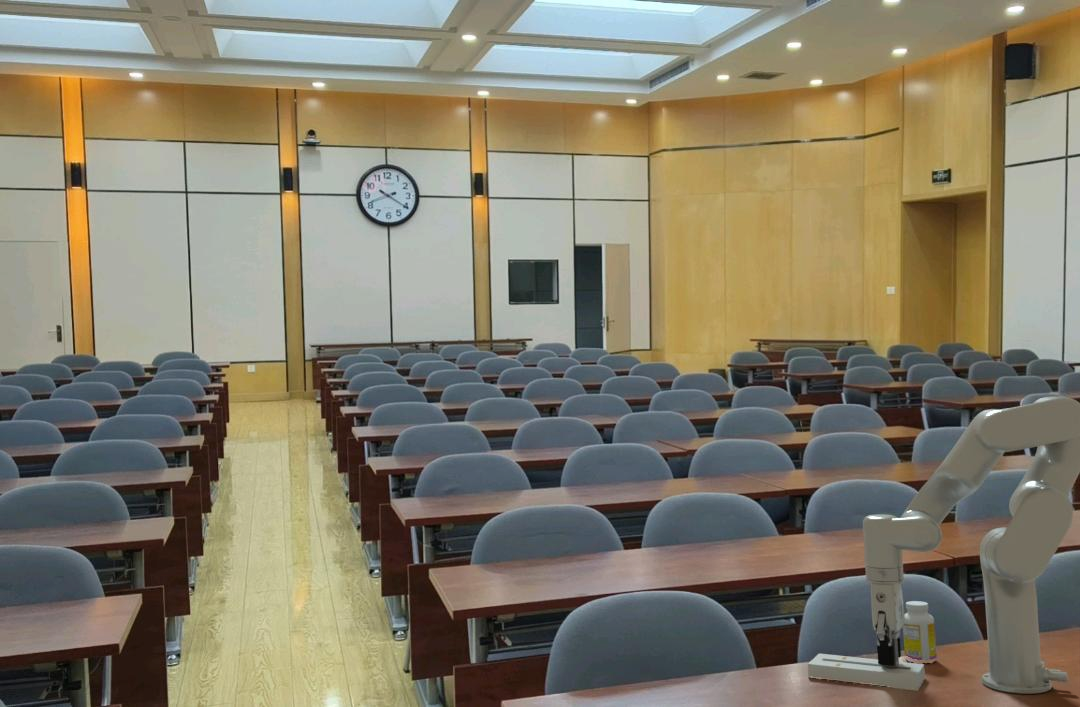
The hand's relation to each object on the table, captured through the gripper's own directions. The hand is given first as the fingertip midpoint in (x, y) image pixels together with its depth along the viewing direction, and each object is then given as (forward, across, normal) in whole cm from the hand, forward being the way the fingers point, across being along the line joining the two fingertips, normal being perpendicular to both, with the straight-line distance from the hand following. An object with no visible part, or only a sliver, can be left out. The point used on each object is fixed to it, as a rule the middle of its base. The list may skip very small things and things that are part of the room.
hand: (889, 659), depth 195 cm
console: (+4, 0, +5) cm, 7 cm away
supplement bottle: (+5, +18, -3) cm, 19 cm away
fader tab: (+1, 0, 0) cm, 1 cm away
